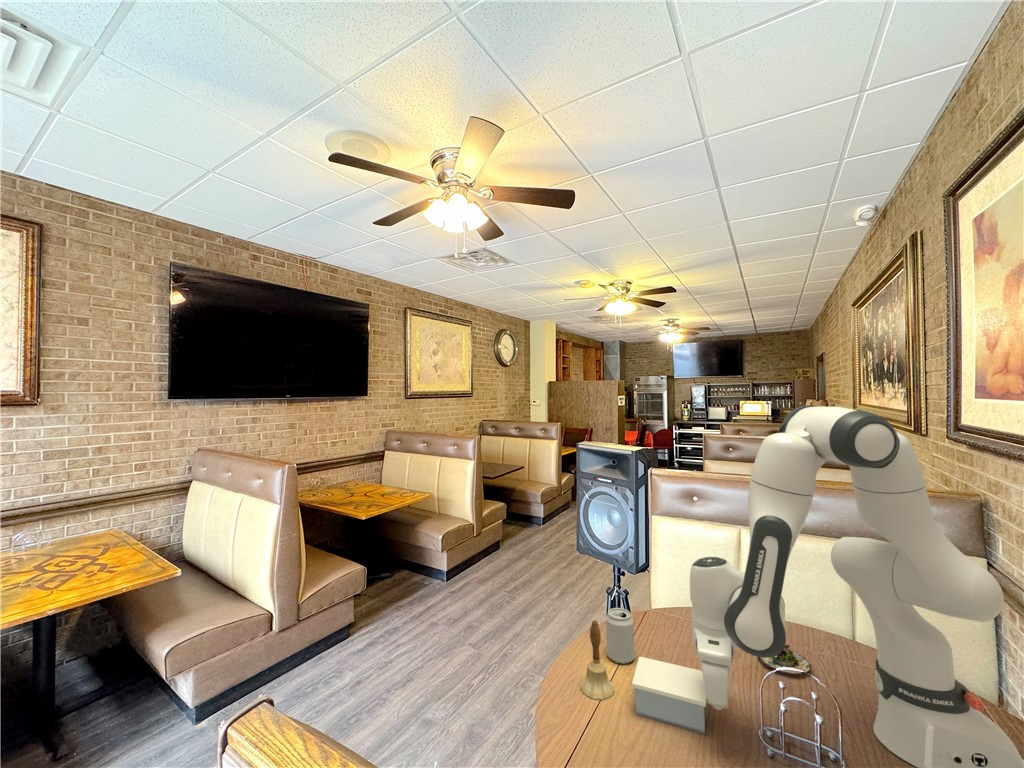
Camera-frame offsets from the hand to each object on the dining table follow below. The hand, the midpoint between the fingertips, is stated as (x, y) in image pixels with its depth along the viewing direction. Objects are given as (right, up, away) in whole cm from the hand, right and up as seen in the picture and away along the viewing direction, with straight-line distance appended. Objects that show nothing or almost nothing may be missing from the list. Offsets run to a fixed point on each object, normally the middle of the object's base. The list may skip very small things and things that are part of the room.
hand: (717, 699), depth 88 cm
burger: (+27, -6, +19) cm, 34 cm away
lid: (-7, -1, +3) cm, 8 cm away
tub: (-9, -5, +4) cm, 11 cm away
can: (-15, -7, +23) cm, 28 cm away
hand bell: (-24, -6, +11) cm, 27 cm away
